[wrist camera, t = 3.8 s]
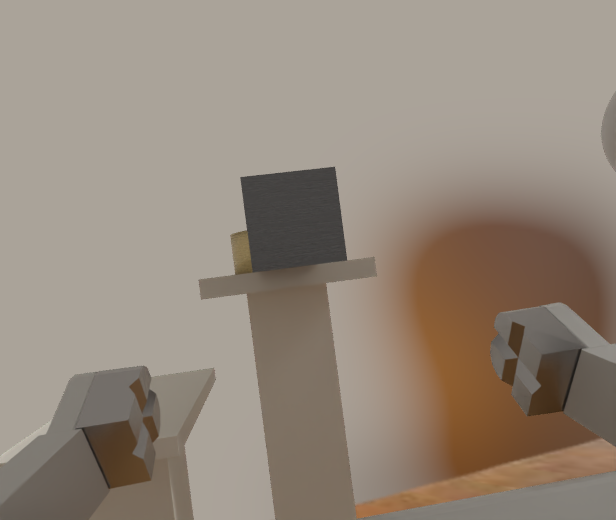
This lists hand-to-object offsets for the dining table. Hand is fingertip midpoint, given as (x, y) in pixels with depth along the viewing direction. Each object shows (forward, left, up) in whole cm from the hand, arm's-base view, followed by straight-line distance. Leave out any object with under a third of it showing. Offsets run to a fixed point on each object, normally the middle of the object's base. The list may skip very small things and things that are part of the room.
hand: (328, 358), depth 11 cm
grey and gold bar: (-10, -13, +2) cm, 16 cm away
